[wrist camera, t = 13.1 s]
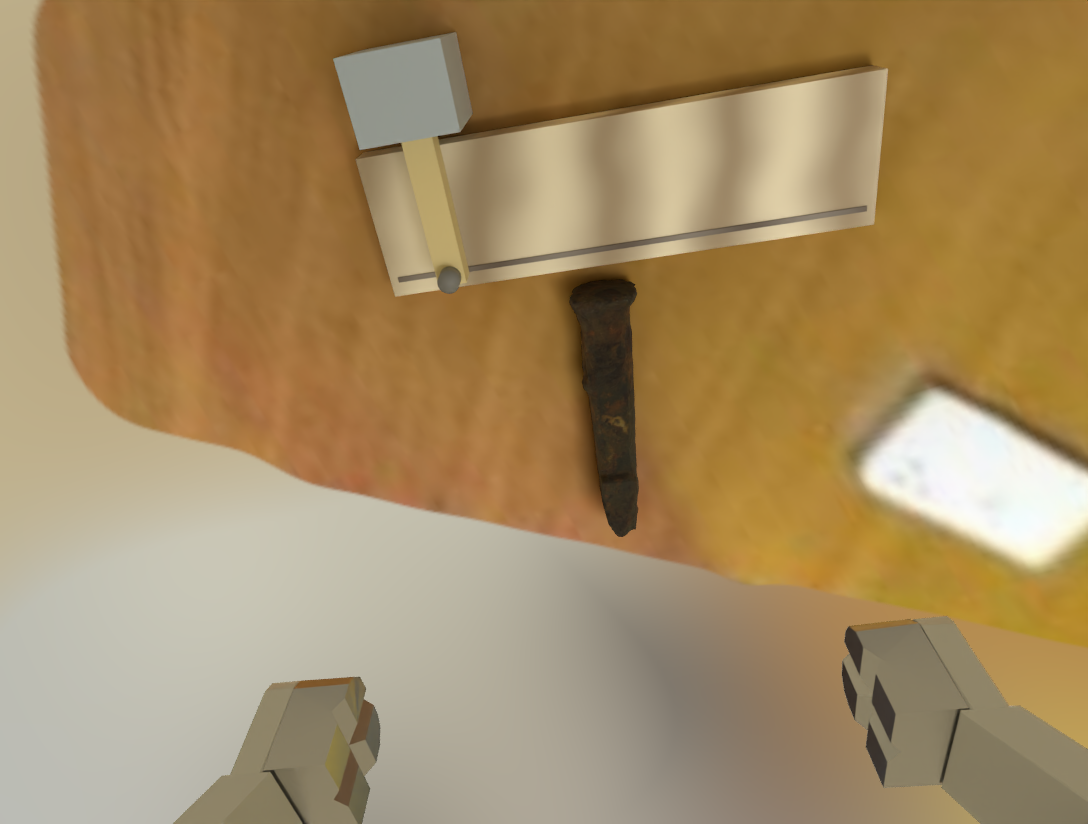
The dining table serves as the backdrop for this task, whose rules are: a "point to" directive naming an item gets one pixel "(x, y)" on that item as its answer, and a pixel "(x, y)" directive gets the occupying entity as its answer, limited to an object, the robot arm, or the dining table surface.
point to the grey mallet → (415, 128)
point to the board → (644, 180)
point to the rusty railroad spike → (610, 392)
